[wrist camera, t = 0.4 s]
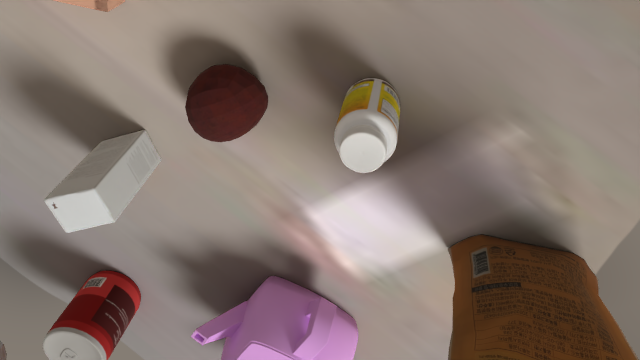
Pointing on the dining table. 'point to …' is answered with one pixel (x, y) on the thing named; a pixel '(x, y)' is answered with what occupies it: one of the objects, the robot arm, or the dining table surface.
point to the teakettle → (283, 326)
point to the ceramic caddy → (95, 4)
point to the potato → (225, 103)
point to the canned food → (94, 319)
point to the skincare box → (104, 182)
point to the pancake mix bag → (528, 305)
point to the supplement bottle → (368, 125)
